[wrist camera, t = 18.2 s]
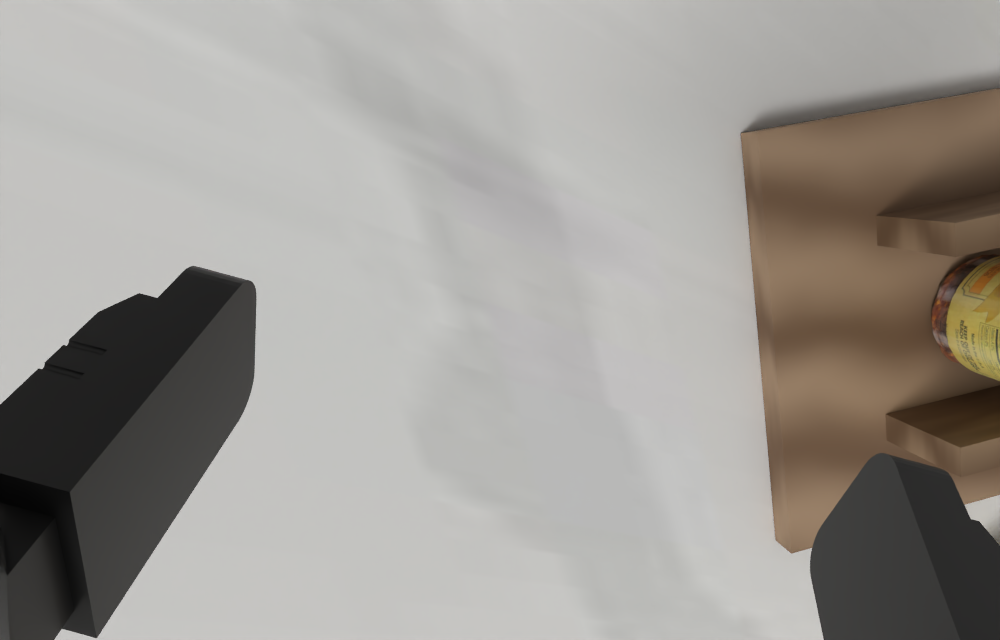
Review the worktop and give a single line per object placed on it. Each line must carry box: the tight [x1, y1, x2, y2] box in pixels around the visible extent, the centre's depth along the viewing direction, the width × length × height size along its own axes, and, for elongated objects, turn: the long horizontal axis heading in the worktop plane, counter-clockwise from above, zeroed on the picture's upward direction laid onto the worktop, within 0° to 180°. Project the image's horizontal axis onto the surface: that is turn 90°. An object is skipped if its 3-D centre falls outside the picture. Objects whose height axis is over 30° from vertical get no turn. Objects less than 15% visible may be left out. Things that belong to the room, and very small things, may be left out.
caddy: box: [741, 88, 1000, 553], centre depth 38 cm, size 22×18×6 cm
